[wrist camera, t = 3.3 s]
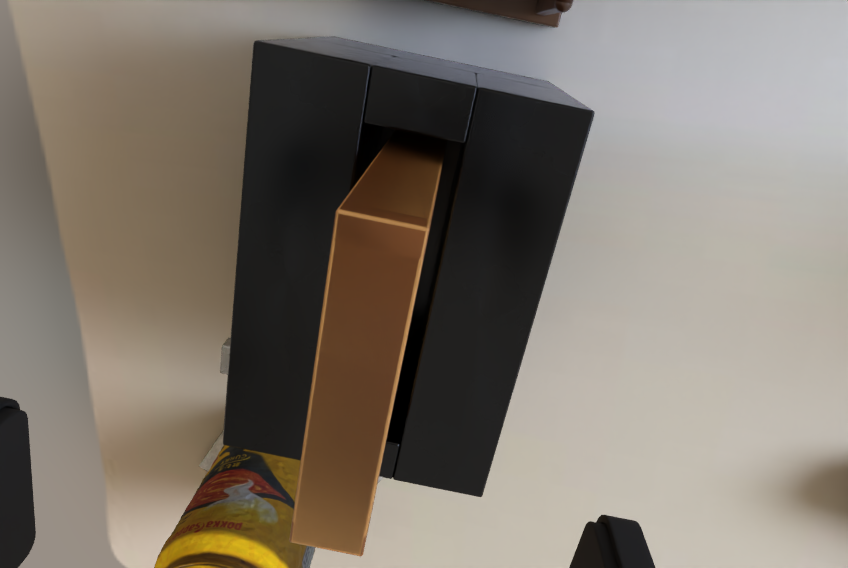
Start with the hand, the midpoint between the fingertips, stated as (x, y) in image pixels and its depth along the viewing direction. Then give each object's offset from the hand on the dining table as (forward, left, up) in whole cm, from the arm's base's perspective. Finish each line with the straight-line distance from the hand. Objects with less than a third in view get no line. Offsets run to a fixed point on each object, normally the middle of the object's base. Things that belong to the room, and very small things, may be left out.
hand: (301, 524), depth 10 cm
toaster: (0, 0, -19) cm, 19 cm away
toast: (0, 0, -14) cm, 14 cm away
